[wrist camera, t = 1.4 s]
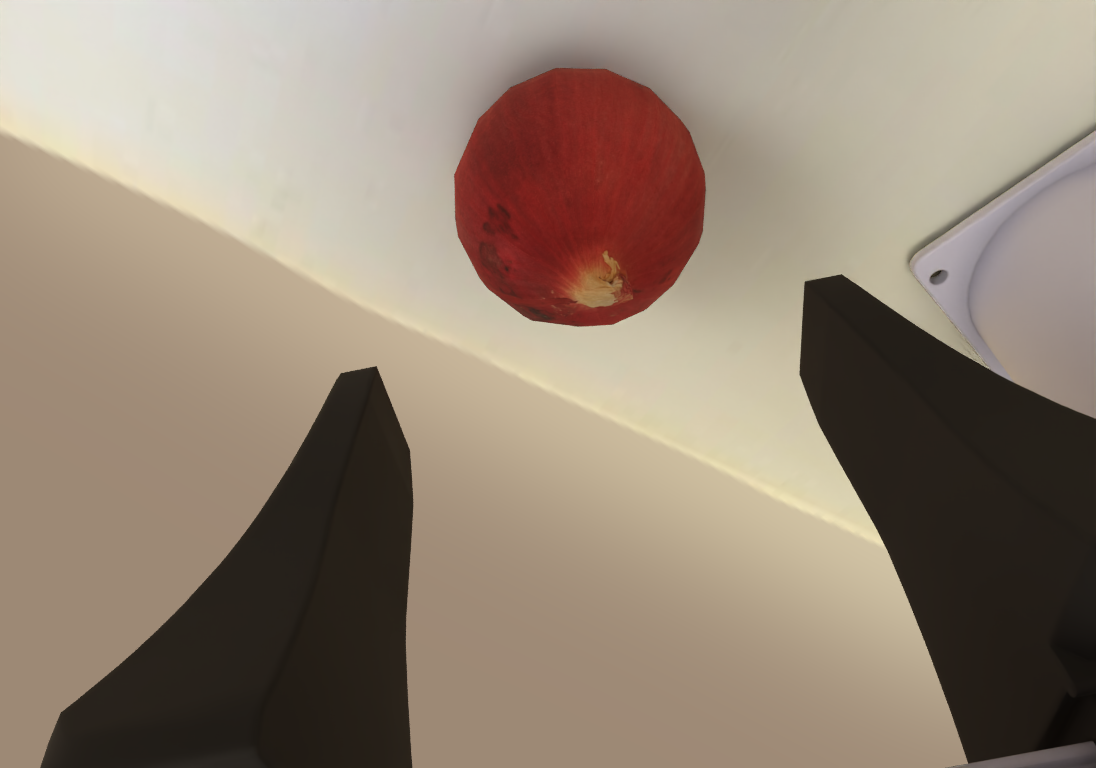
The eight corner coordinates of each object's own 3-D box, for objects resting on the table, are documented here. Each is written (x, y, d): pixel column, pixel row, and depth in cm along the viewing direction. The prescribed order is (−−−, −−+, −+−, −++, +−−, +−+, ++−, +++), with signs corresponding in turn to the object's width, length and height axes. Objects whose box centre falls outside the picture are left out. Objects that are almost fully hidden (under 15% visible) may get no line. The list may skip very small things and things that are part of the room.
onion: (567, 266, 25) (589, 453, 19) (415, 141, 22) (383, 314, 16) (719, 129, 23) (801, 296, 16) (569, -29, 20) (599, 100, 14)
